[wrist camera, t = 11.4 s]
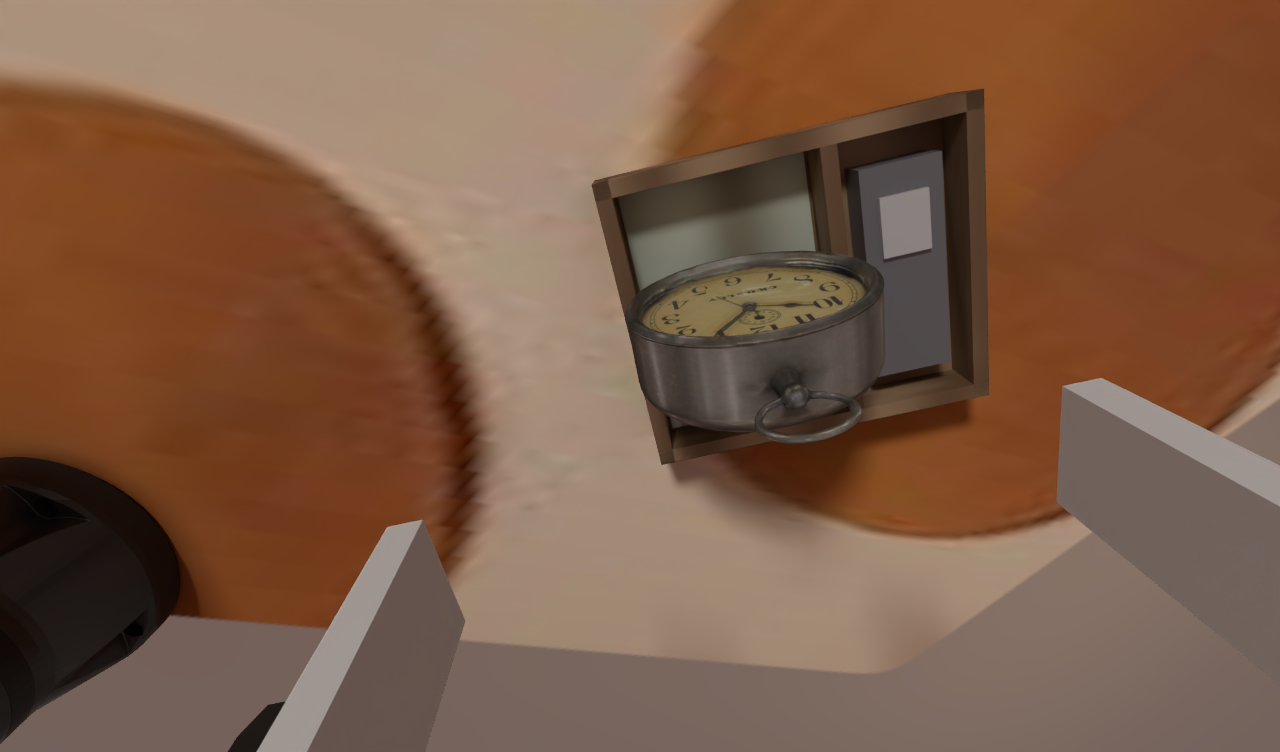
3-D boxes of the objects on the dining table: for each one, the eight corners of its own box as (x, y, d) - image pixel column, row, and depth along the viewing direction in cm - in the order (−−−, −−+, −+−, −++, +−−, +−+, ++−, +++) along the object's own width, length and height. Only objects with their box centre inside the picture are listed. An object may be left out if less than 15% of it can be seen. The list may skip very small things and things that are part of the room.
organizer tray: (658, 438, 37) (661, 464, 34) (594, 180, 32) (591, 185, 29) (959, 373, 36) (989, 394, 33) (948, 93, 30) (983, 88, 27)
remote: (863, 364, 35) (879, 379, 33) (844, 168, 31) (860, 171, 29) (933, 349, 35) (953, 362, 33) (922, 149, 31) (944, 150, 29)
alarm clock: (826, 233, 32) (1006, 320, 17) (833, 329, 34) (1000, 485, 19) (622, 272, 32) (620, 392, 17) (641, 365, 34) (654, 544, 19)
